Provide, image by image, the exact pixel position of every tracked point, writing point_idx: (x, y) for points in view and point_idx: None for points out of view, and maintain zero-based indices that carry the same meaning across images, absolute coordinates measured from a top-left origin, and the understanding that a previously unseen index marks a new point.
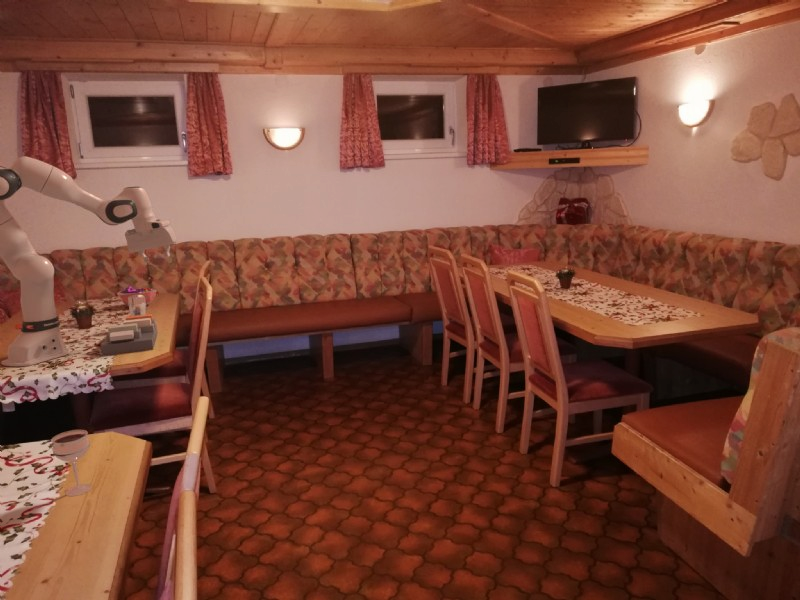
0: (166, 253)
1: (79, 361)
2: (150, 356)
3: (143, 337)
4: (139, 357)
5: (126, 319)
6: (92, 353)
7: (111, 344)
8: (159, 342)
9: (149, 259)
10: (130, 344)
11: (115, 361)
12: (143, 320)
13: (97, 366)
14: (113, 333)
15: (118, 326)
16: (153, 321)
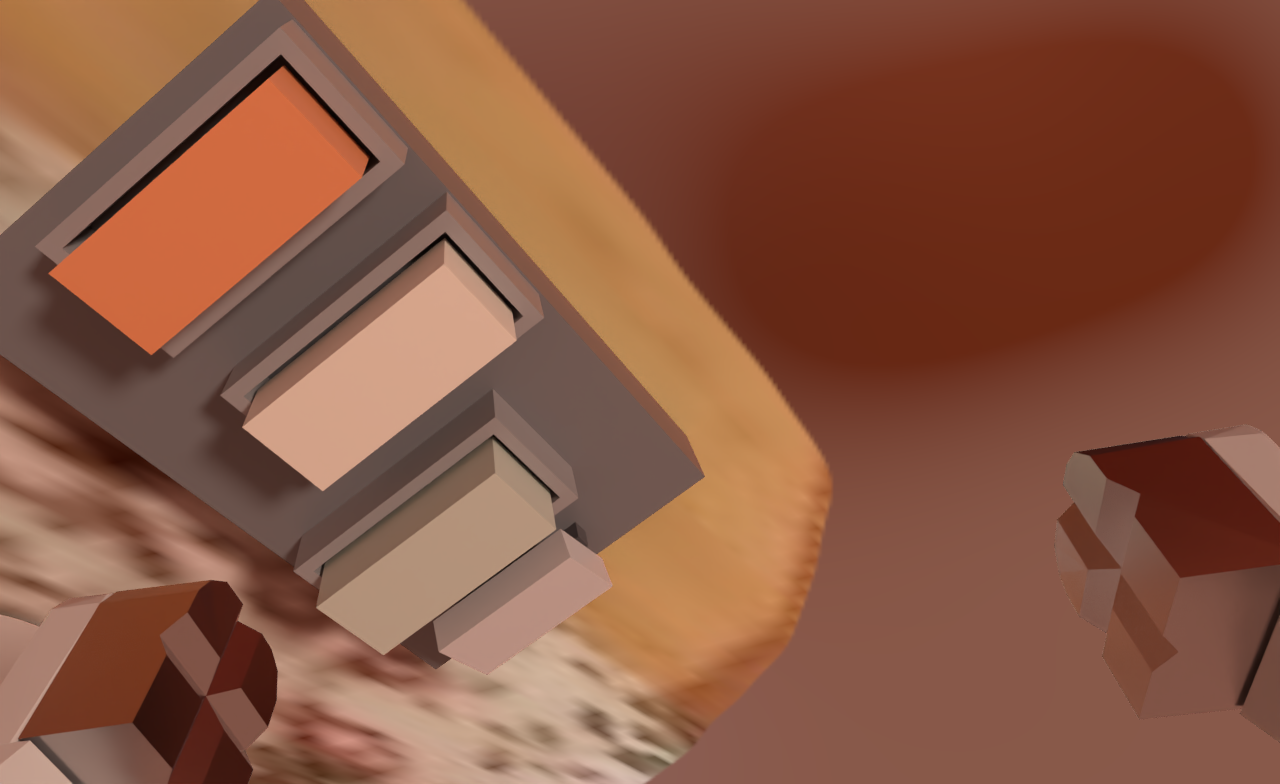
0: (1254, 669)
1: (395, 715)
2: (772, 540)
3: (588, 450)
4: (715, 571)
5: (163, 344)
6: (307, 602)
7: None
8: (594, 277)
9: (209, 588)
10: None
11: (624, 654)
12: (467, 377)
13: (593, 728)
14: (471, 645)
15: (418, 592)
16: (393, 164)
